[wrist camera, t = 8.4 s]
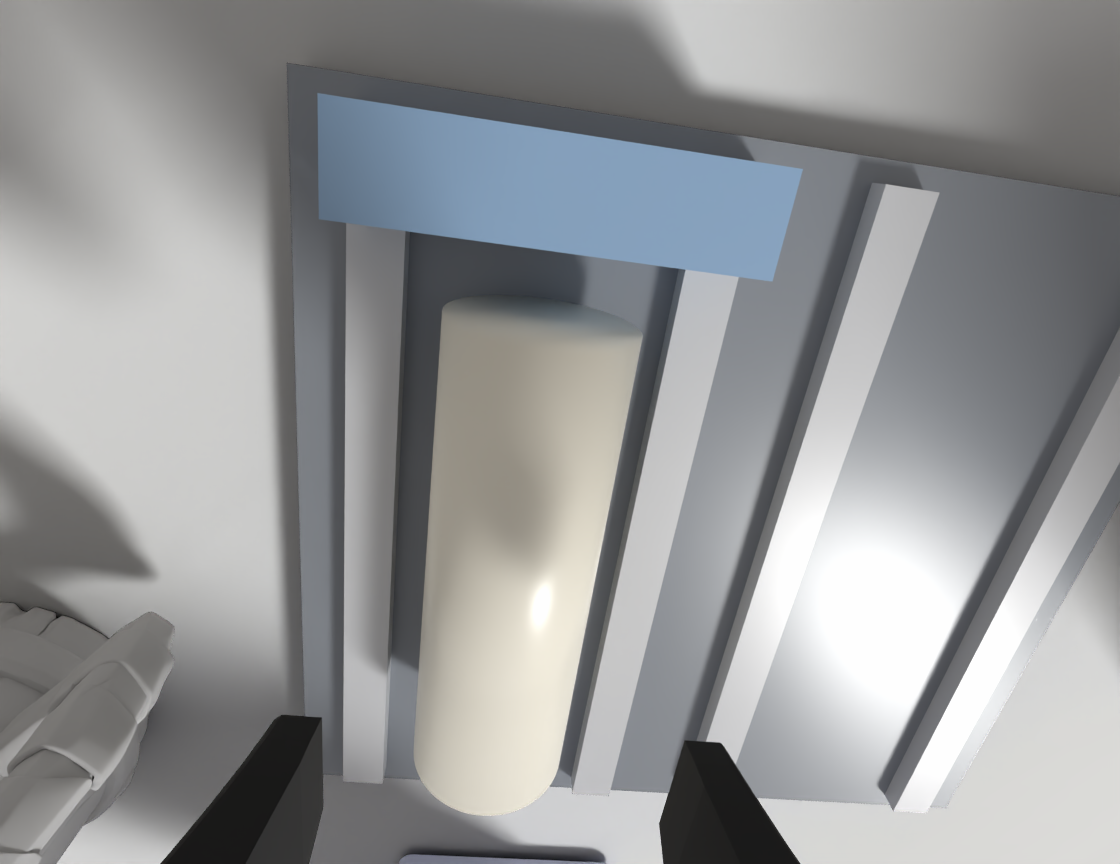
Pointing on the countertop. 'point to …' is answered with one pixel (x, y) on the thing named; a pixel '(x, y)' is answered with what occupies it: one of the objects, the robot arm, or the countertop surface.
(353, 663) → the board
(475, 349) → the cream paper roll
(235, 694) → the countertop surface
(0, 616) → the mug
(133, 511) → the countertop surface
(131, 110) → the countertop surface
